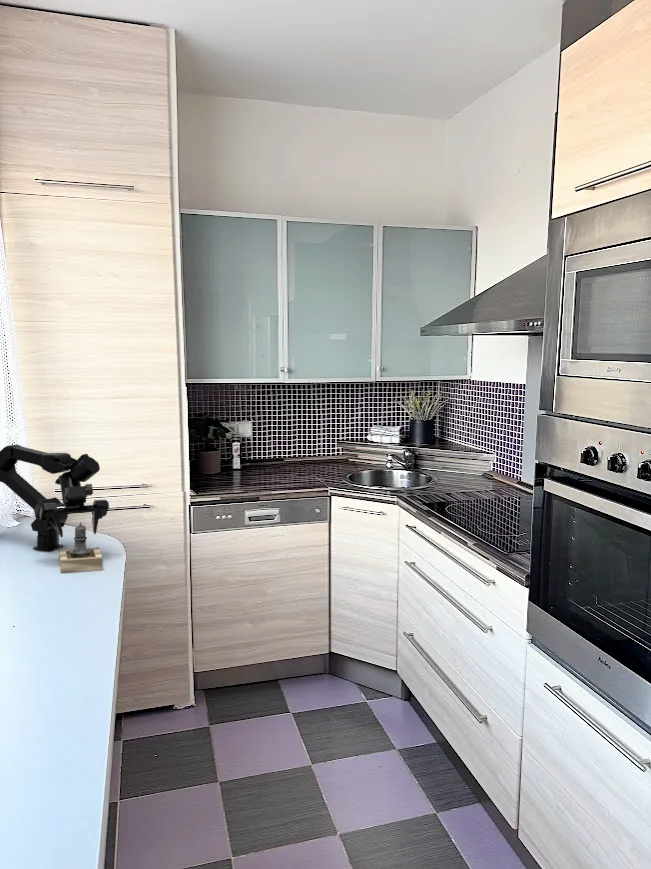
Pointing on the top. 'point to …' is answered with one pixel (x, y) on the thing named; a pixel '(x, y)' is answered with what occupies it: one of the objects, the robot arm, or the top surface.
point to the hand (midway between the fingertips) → (78, 534)
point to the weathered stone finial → (80, 543)
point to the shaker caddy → (80, 561)
